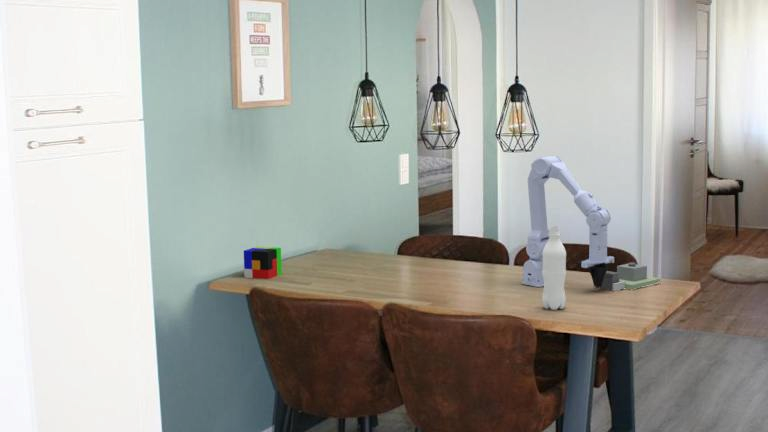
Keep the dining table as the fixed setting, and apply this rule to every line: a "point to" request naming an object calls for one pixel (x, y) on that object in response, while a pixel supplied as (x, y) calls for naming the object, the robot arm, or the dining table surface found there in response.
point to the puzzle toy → (262, 262)
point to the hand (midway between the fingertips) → (597, 286)
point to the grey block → (610, 280)
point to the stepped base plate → (632, 277)
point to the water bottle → (554, 271)
